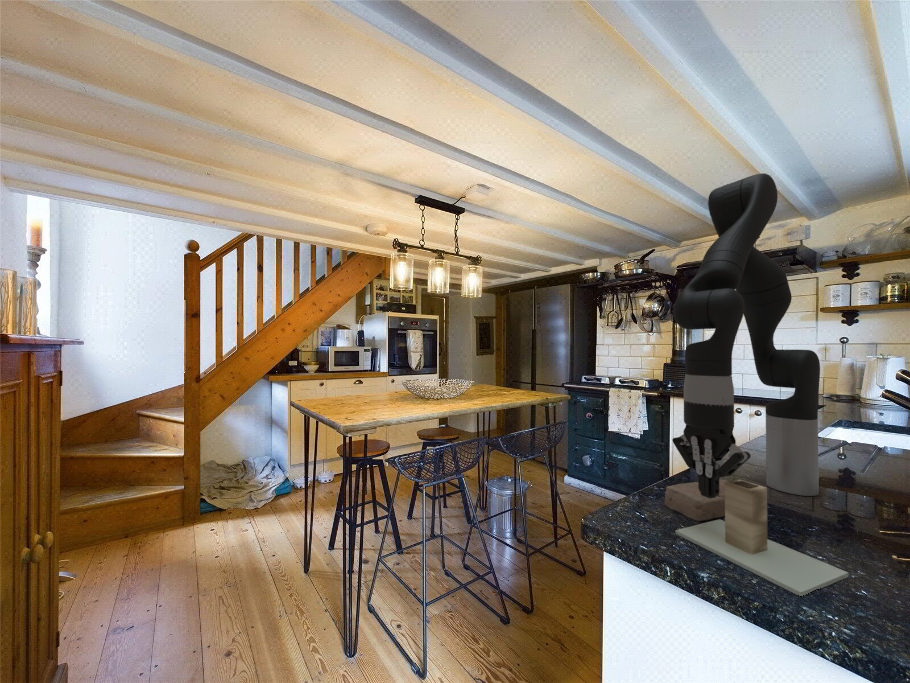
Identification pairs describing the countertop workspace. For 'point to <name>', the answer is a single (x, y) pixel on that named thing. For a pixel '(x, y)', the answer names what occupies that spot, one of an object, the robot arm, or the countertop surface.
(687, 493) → the brick
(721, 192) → the robot arm
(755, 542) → the beech block
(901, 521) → the countertop surface
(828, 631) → the countertop surface
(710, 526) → the flat grey rectangular slab
